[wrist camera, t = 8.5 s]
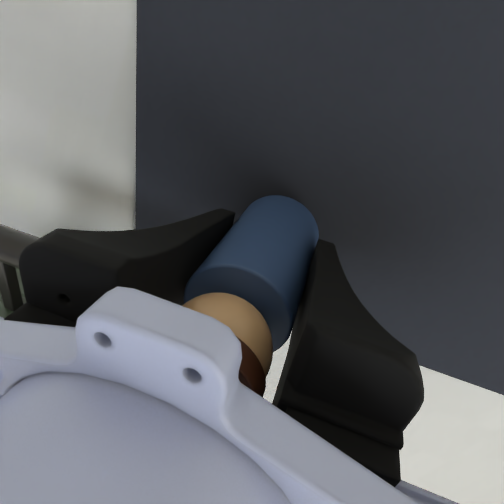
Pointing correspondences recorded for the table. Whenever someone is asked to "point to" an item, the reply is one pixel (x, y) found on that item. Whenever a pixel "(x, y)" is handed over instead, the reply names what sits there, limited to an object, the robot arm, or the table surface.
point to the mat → (344, 147)
